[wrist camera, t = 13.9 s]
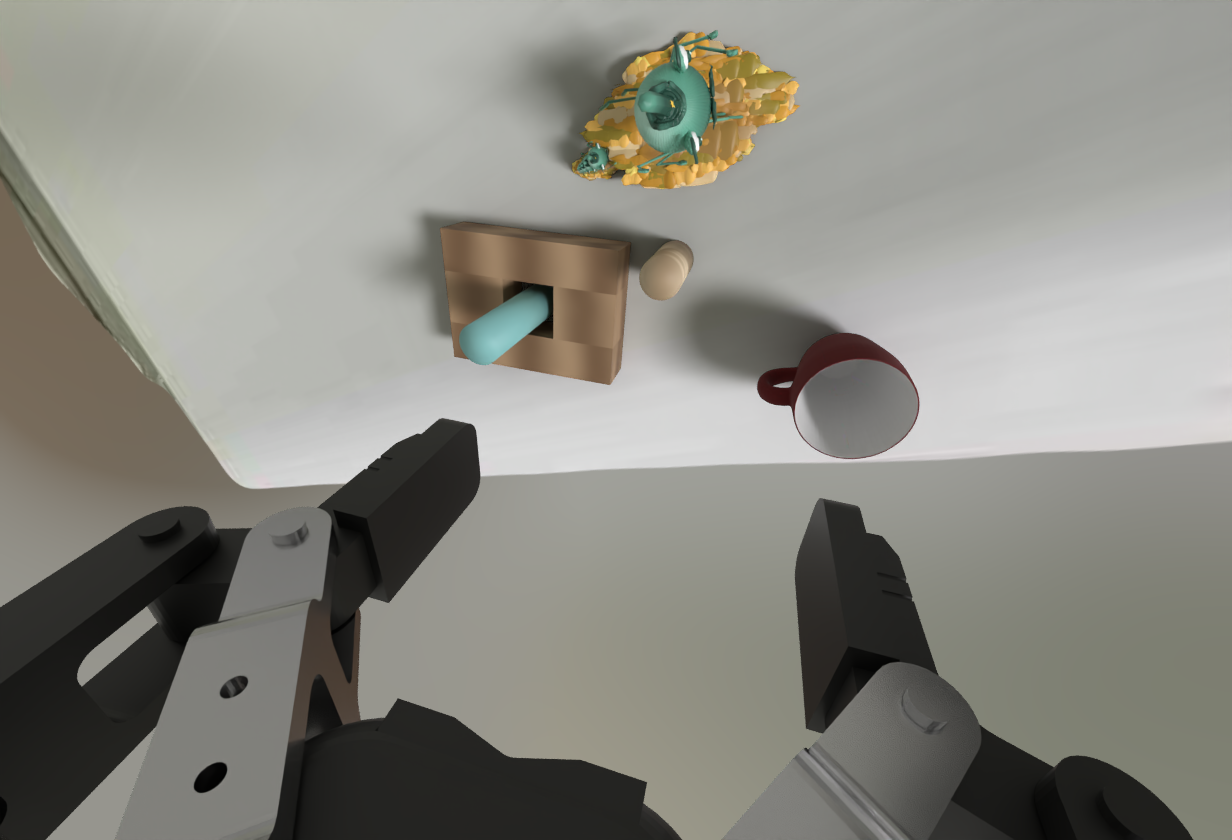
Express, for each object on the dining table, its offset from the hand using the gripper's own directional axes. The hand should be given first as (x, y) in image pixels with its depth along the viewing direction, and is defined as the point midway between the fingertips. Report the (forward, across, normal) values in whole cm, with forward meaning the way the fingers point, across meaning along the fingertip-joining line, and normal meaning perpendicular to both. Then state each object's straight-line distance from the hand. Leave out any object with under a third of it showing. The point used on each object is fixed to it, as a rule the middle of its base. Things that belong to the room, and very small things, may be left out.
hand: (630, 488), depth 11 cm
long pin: (+34, +16, +7) cm, 38 cm away
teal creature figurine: (+34, +5, -8) cm, 36 cm away
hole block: (+34, +16, +7) cm, 38 cm away
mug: (+34, -10, +9) cm, 37 cm away
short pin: (+34, +4, +2) cm, 34 cm away
